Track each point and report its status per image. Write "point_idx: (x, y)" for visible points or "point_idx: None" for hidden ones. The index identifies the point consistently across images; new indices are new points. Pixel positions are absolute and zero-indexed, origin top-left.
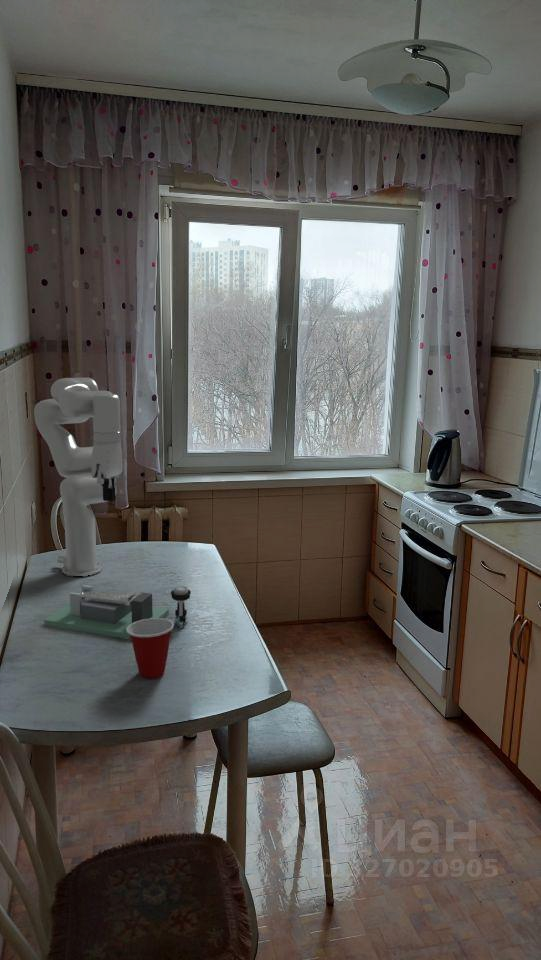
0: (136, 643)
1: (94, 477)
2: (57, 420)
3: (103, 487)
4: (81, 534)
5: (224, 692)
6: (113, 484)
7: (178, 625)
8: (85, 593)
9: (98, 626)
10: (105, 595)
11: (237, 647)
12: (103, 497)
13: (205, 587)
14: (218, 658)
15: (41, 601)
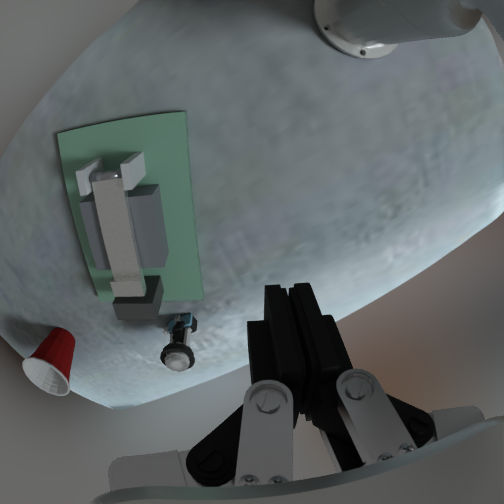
0: (31, 362)
1: (133, 496)
2: None
3: (252, 394)
4: (381, 8)
5: (87, 386)
6: (322, 431)
7: (169, 323)
8: (108, 186)
9: (85, 237)
10: (119, 234)
11: (161, 381)
12: (268, 301)
13: (337, 291)
14: (129, 374)
15: (148, 37)
